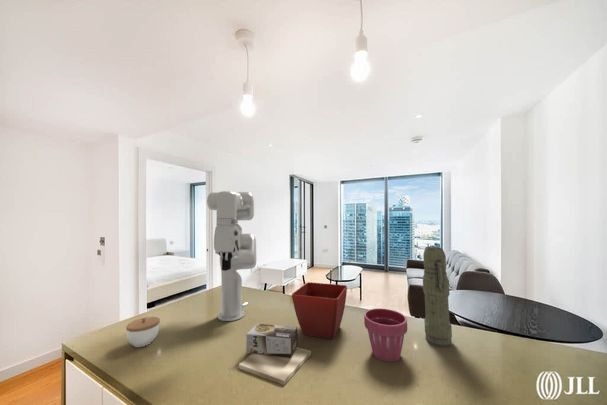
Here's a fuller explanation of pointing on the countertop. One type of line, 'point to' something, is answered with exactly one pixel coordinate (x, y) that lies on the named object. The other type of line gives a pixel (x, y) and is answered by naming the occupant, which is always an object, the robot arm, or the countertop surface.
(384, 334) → the plant pot
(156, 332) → the lidded jar
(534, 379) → the countertop surface
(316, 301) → the plant pot
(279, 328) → the coffee box
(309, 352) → the birch board
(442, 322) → the moai statue figurine
